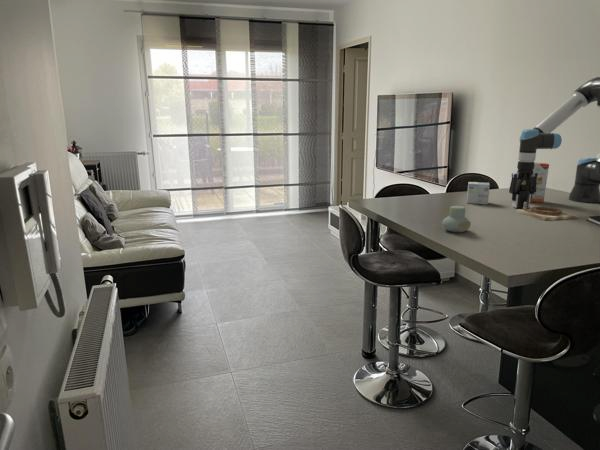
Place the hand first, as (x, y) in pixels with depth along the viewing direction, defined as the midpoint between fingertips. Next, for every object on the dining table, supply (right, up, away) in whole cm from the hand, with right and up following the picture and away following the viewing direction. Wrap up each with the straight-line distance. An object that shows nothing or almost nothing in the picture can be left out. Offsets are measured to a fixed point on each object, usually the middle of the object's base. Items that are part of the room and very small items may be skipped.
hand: (520, 206), depth 232 cm
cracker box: (+12, +3, +16) cm, 21 cm away
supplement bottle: (0, -1, 0) cm, 1 cm away
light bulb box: (-18, +2, +12) cm, 21 cm away
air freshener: (-48, -12, -44) cm, 66 cm away
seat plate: (+4, -5, -16) cm, 17 cm away
